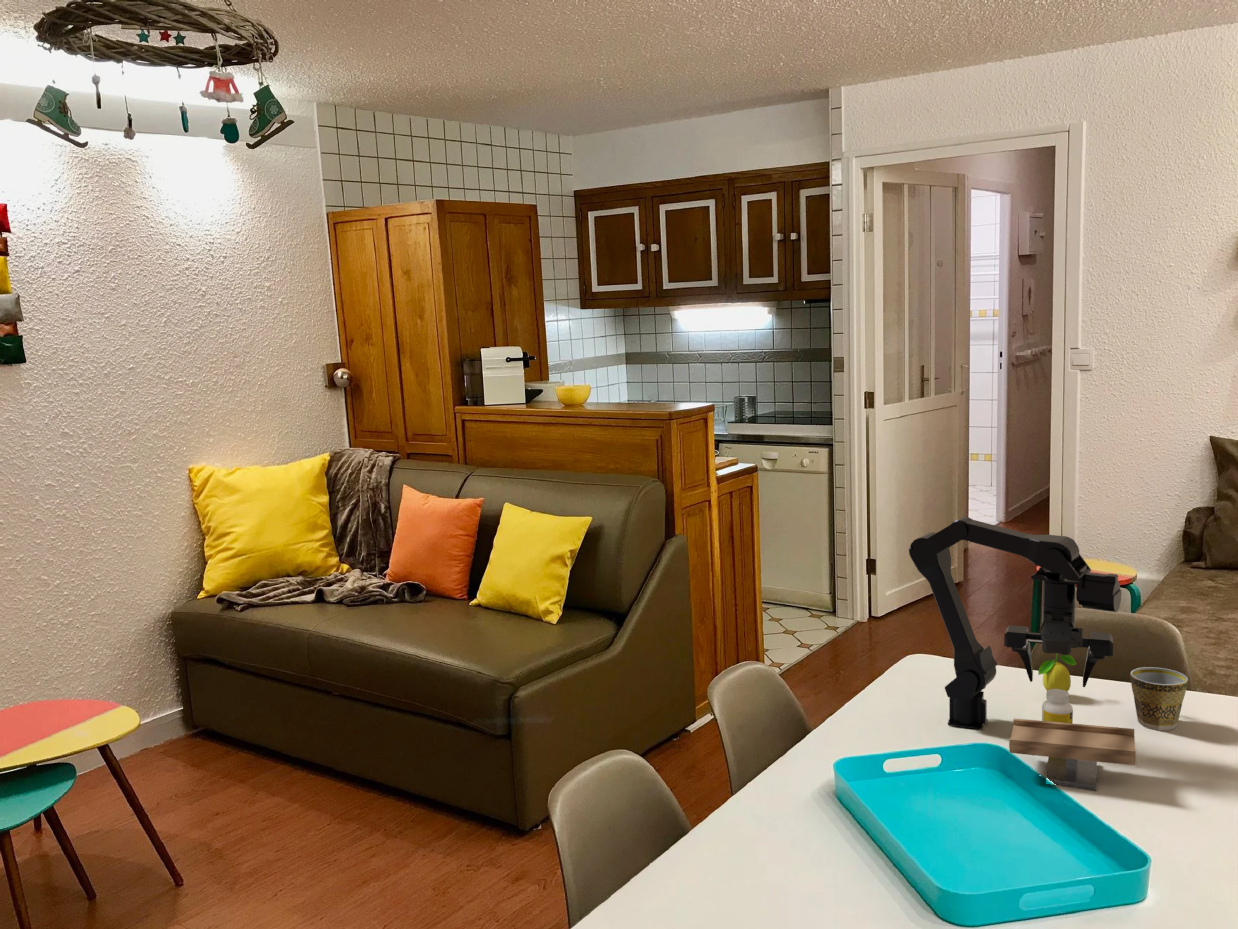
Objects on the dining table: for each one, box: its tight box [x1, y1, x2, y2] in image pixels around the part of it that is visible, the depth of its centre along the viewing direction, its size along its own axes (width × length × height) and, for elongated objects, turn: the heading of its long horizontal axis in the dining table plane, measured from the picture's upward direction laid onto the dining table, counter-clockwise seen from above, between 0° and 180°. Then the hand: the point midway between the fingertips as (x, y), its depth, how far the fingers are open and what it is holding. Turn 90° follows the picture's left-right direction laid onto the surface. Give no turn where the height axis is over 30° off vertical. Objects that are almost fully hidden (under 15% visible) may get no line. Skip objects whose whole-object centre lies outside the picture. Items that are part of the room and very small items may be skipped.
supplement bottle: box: [1041, 689, 1074, 724], centre depth 196 cm, size 5×5×10 cm
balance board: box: [1008, 717, 1137, 767], centre depth 182 cm, size 20×10×2 cm, turn 65°
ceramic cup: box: [1129, 666, 1189, 732], centre depth 202 cm, size 13×10×10 cm
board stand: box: [1045, 757, 1098, 792], centre depth 182 cm, size 8×11×4 cm
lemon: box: [1037, 653, 1077, 693], centre depth 217 cm, size 7×6×10 cm
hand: (1057, 683), depth 195 cm, fingers open, 9 cm apart
